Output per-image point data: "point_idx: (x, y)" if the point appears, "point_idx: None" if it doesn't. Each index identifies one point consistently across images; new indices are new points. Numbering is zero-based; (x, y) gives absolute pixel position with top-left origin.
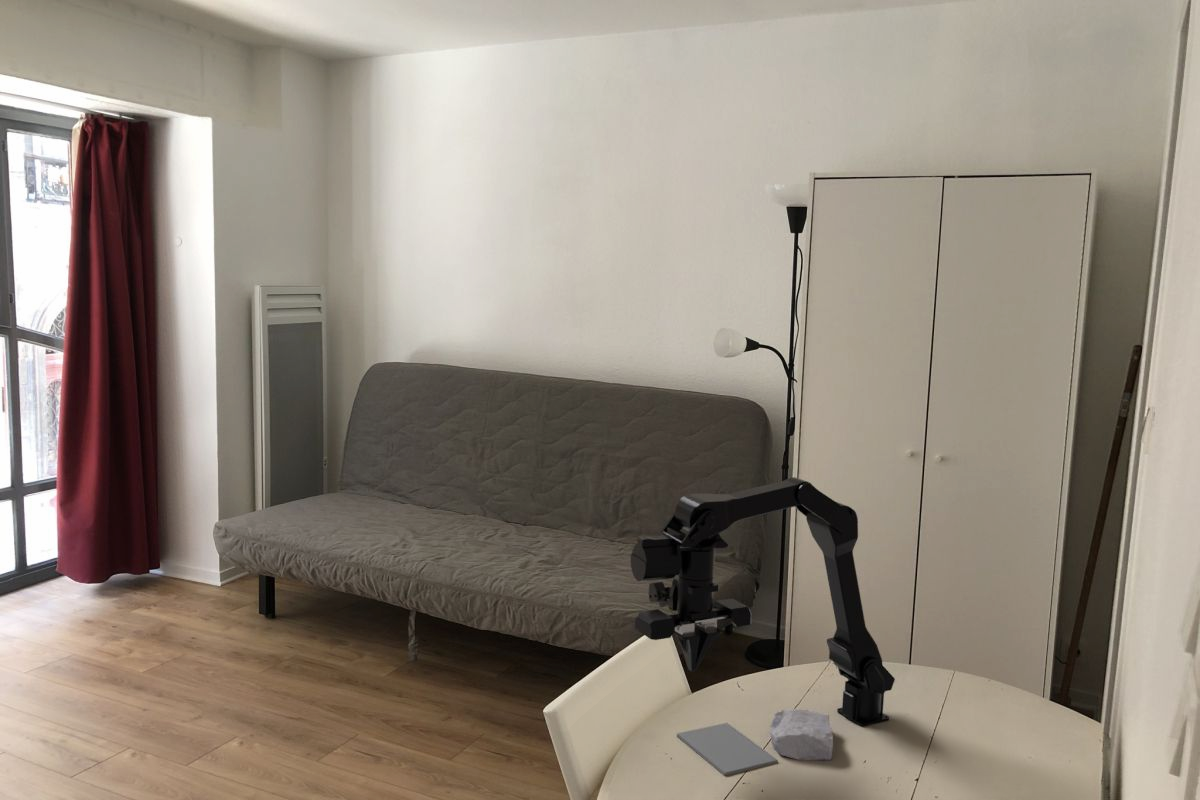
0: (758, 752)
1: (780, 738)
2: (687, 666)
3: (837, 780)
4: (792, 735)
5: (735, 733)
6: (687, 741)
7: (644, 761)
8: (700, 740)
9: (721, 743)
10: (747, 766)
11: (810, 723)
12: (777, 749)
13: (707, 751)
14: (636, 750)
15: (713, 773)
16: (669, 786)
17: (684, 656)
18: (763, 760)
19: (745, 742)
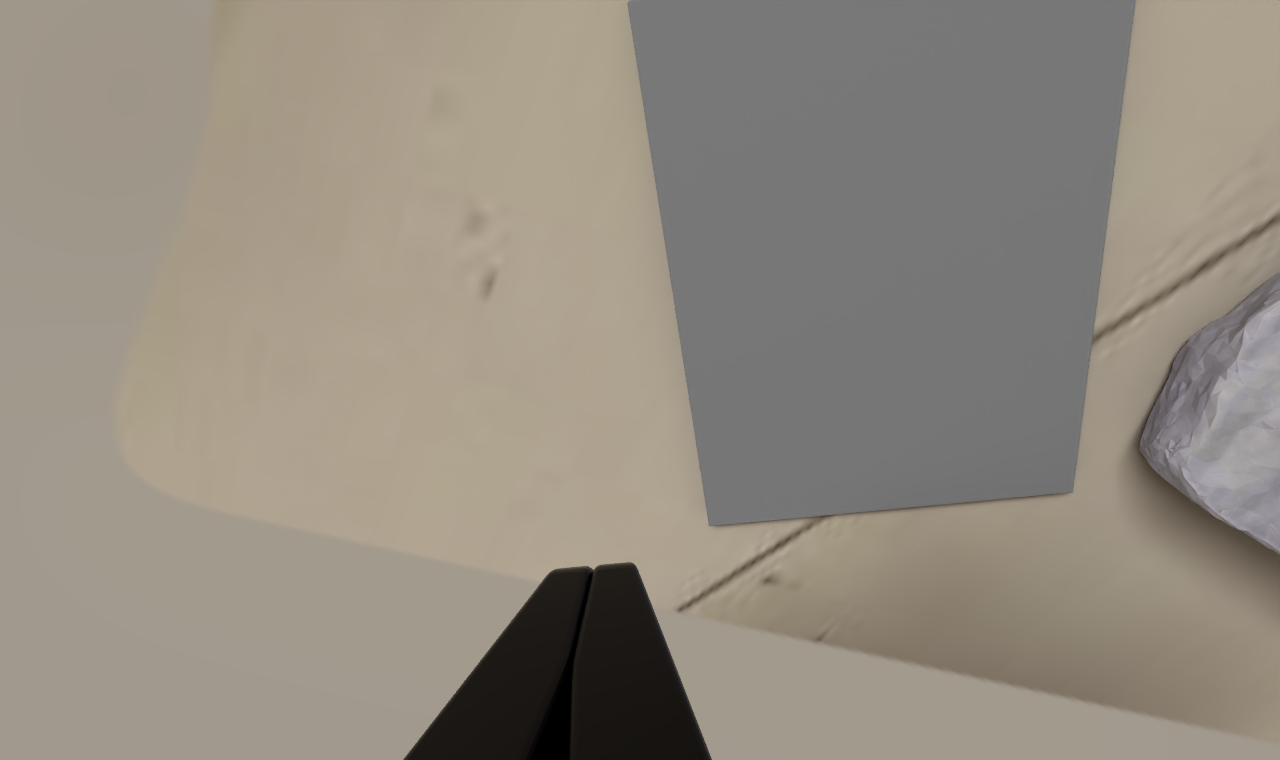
0: (1030, 399)
1: (1195, 495)
2: (533, 596)
3: (1210, 661)
4: (1270, 545)
5: (1072, 126)
6: (657, 151)
7: (314, 279)
8: (757, 161)
9: (876, 242)
10: (863, 506)
11: None
12: (1143, 446)
13: (728, 313)
14: (281, 133)
15: (664, 481)
16: (400, 523)
17: (427, 742)
18: (990, 480)
19: (1043, 271)
